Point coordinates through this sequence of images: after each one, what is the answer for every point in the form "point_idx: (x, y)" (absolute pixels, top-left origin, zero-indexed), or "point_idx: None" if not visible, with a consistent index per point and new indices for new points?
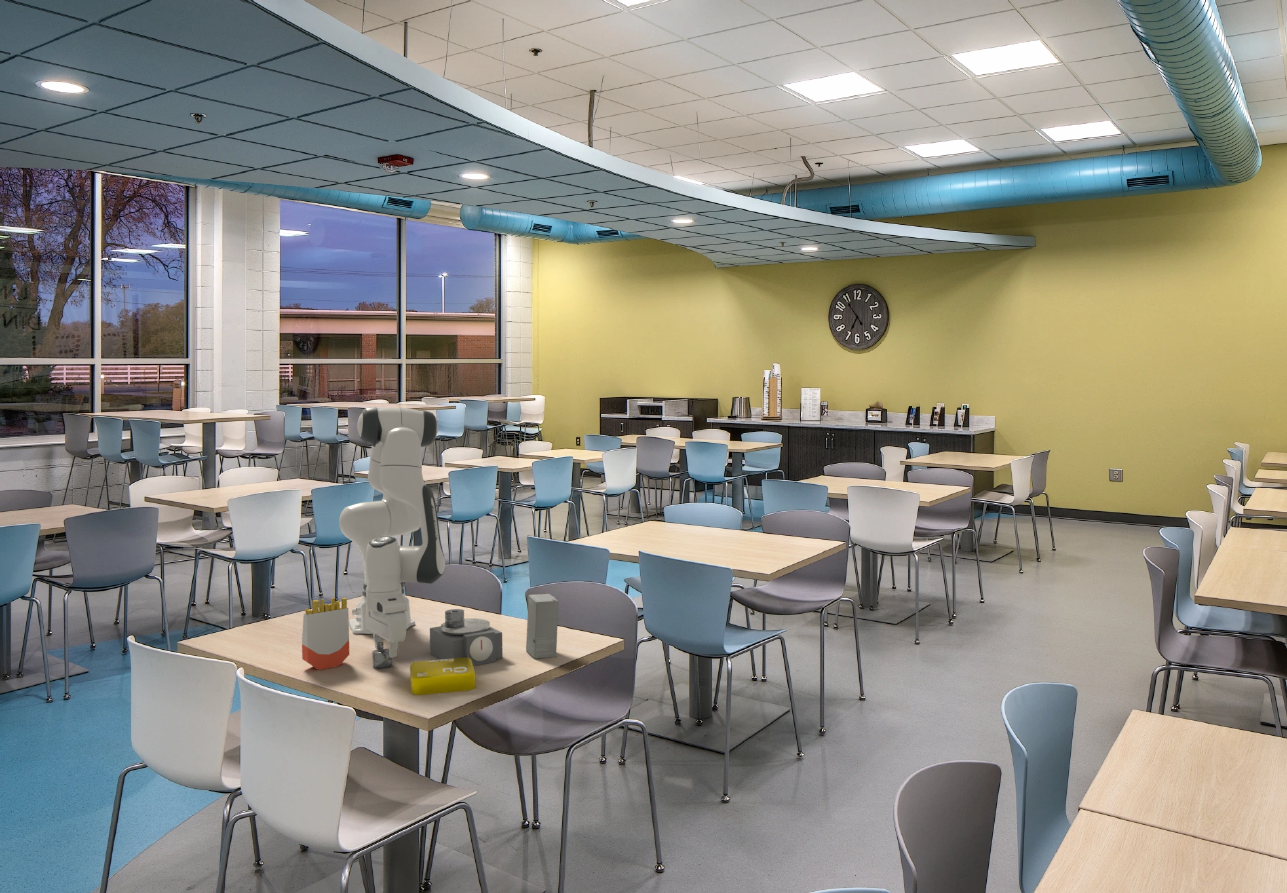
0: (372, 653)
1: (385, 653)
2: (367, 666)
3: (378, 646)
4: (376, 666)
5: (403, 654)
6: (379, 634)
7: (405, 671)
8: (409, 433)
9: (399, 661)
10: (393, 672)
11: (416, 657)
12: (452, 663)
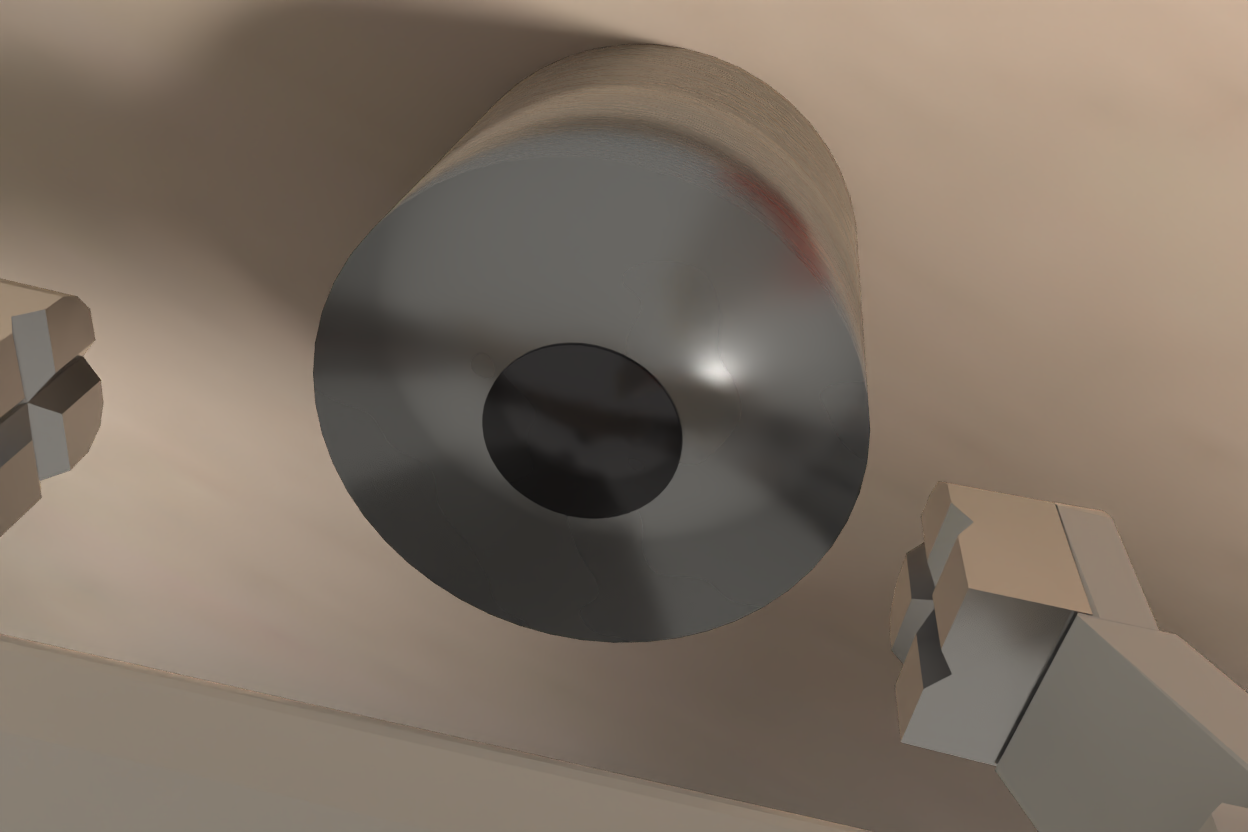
0: (706, 179)
1: (320, 368)
2: (916, 18)
3: (948, 563)
4: (550, 76)
5: (999, 828)
6: (64, 728)
7: None
8: None
9: None
10: (112, 170)
11: None
12: None
